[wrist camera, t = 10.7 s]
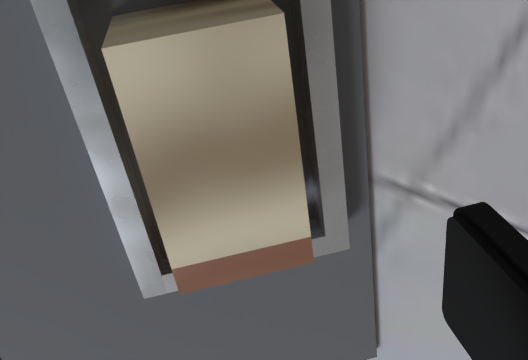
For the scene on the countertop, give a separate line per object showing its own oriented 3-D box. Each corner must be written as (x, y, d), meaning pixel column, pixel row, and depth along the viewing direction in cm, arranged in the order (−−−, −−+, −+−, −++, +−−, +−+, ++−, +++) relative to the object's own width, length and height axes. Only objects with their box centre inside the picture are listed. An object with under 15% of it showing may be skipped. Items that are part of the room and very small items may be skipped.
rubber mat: (-41, 459, 26) (-43, 467, 26) (-439, -12, 14) (-454, -10, 14) (374, 351, 28) (376, 356, 28) (348, -151, 16) (352, -152, 16)
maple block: (112, 16, 17) (101, 48, 13) (258, -12, 17) (284, 12, 14) (175, 229, 21) (179, 294, 18) (289, 203, 22) (314, 262, 18)
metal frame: (144, 275, 22) (144, 299, 21) (29, -37, 15) (18, -30, 14) (339, 229, 23) (349, 248, 22) (310, -89, 16) (323, -87, 15)
